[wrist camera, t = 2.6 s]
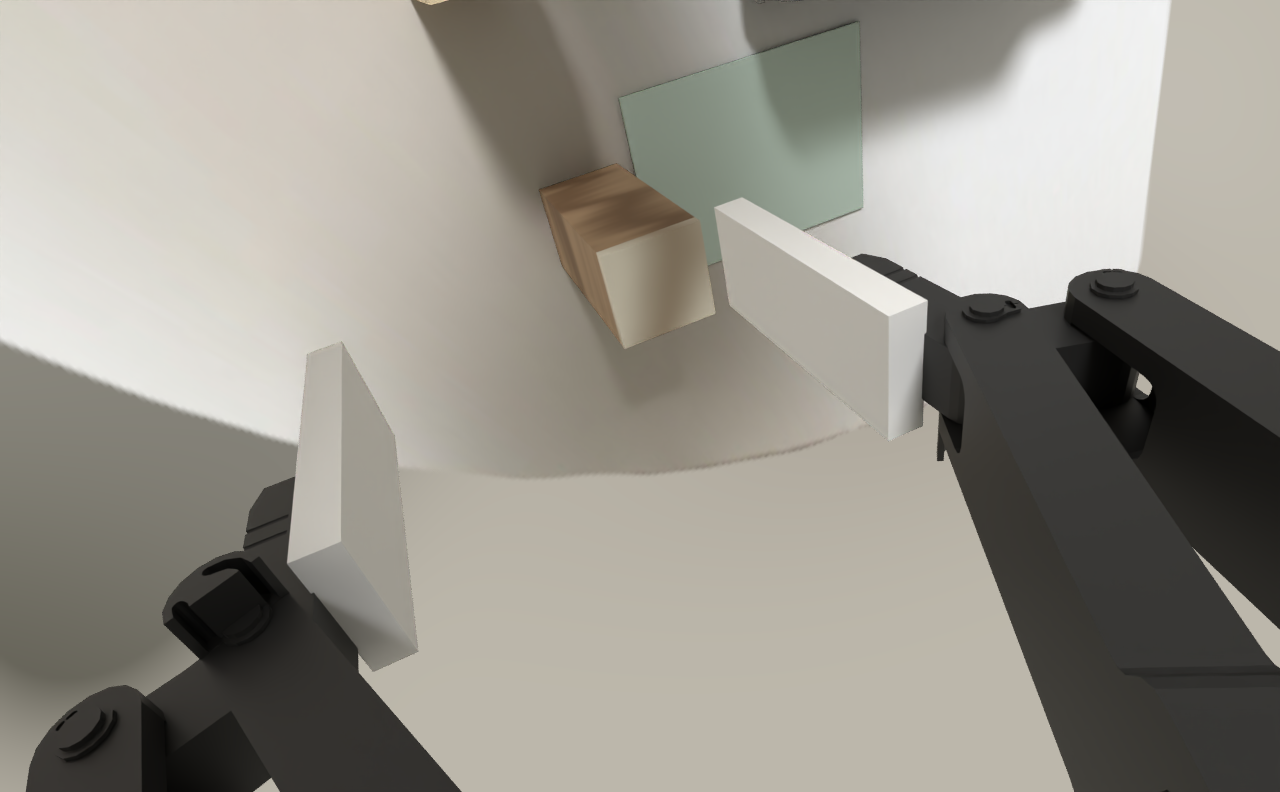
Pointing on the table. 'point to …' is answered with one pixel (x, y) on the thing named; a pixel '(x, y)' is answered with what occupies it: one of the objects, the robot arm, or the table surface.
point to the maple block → (431, 1)
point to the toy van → (762, 0)
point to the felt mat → (757, 134)
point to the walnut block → (630, 253)
